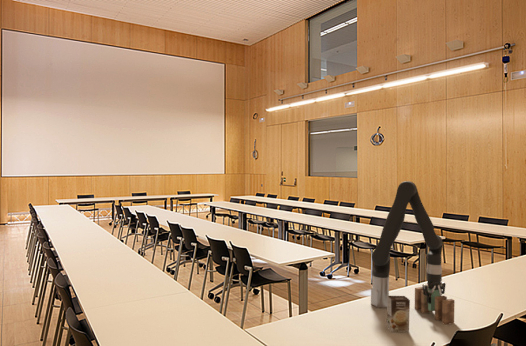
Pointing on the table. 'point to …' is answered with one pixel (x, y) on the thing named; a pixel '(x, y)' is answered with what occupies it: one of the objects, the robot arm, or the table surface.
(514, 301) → the table surface
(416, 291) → the domino
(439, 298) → the domino
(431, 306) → the domino
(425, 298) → the domino
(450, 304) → the domino
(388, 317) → the coffee box
